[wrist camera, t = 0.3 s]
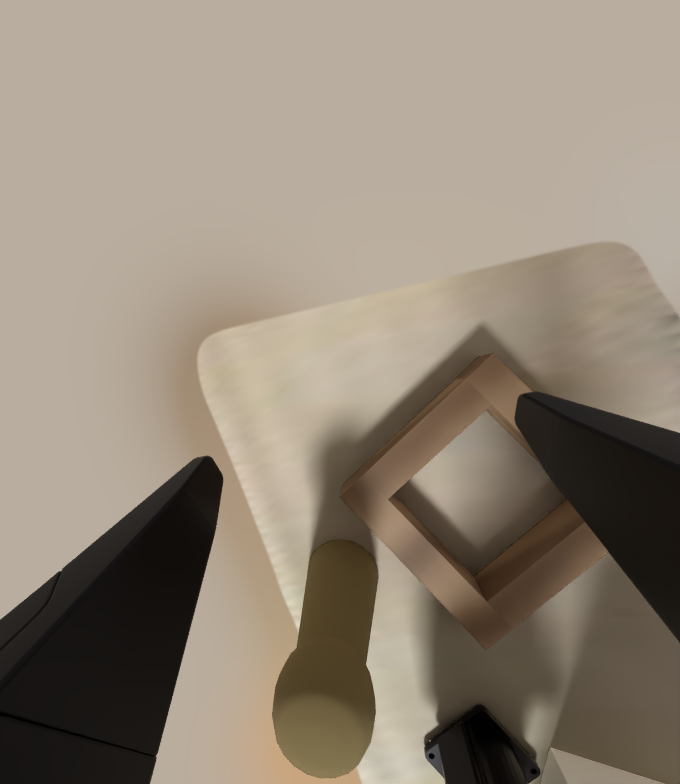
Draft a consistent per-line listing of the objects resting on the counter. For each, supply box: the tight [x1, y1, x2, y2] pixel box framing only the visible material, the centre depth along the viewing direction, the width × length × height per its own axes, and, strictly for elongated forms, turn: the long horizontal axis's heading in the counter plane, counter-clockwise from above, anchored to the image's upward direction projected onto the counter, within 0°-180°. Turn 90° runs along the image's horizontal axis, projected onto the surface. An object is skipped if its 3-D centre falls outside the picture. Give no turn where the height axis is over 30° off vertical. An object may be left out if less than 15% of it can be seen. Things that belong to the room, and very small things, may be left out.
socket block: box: [340, 353, 608, 649], centre depth 20 cm, size 15×15×2 cm
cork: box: [272, 540, 378, 778], centre depth 18 cm, size 6×6×11 cm
